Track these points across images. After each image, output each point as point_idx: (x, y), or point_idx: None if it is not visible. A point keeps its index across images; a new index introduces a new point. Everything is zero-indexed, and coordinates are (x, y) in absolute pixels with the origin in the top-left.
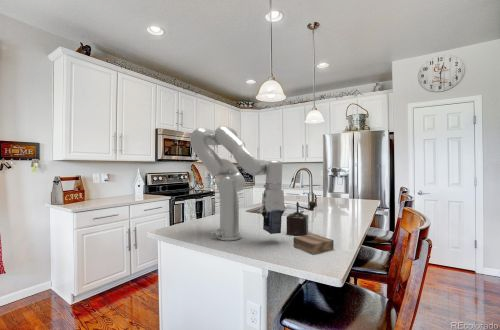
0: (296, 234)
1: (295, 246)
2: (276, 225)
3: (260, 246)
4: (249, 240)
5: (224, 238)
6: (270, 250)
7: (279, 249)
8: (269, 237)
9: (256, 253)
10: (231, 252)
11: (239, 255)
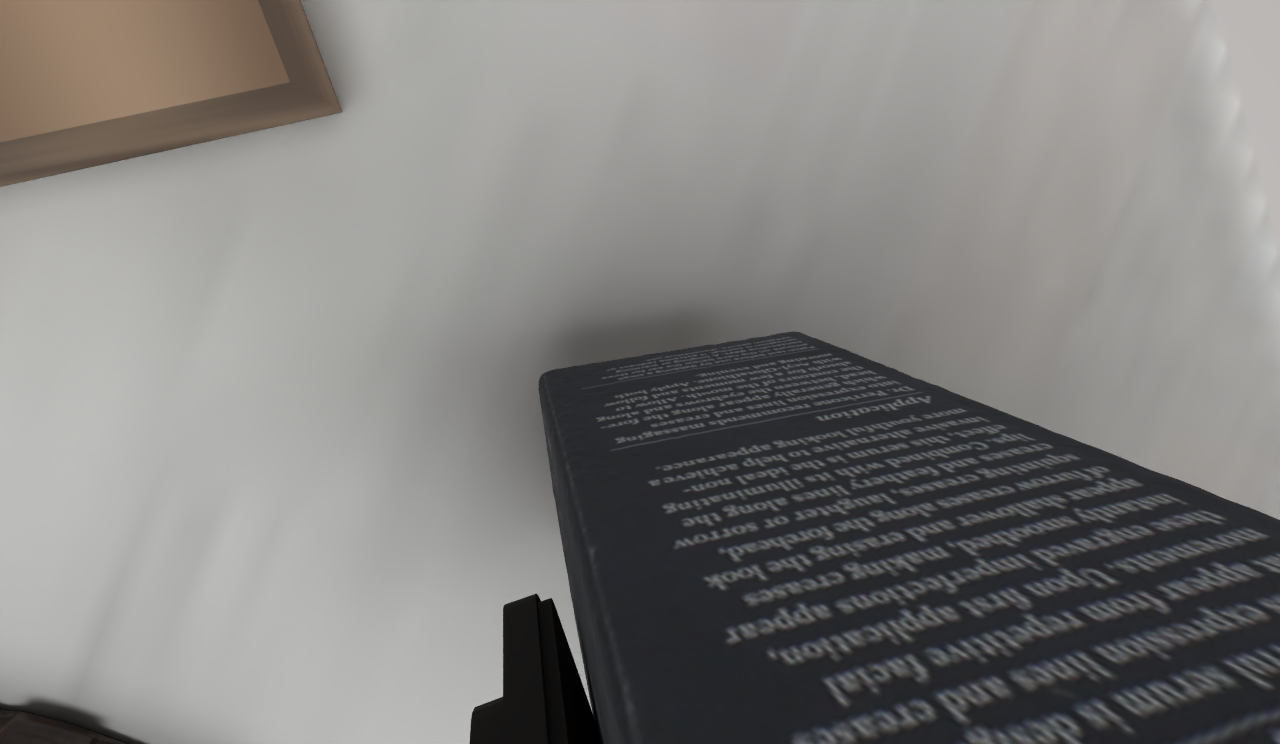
0: (27, 724)
1: (315, 44)
2: (731, 403)
3: (852, 289)
4: None
5: None
6: (802, 60)
7: (655, 52)
8: (575, 657)
9: (1020, 9)
10: (1218, 169)
11: (1205, 22)
